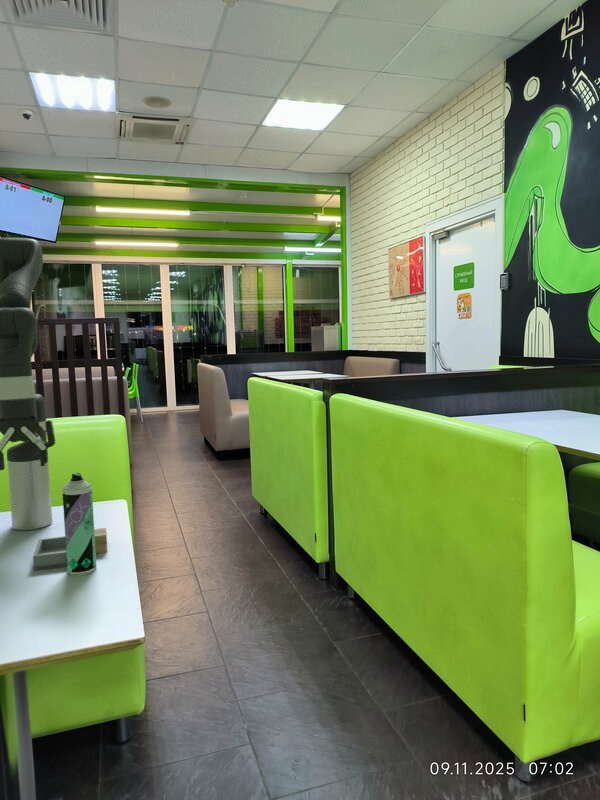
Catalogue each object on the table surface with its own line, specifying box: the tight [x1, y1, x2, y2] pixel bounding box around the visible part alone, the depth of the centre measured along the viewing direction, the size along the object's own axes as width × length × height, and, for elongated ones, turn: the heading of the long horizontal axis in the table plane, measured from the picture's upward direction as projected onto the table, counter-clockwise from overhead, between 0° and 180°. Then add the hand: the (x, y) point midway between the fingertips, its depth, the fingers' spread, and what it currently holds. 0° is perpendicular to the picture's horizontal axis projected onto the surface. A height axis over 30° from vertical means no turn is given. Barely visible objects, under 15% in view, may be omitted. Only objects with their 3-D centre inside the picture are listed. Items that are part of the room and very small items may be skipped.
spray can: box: [61, 472, 97, 577], centre depth 111 cm, size 6×6×20 cm
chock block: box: [94, 527, 108, 554], centre depth 124 cm, size 5×3×4 cm, turn 19°
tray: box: [32, 535, 67, 572], centre depth 119 cm, size 10×10×3 cm
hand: (22, 467), depth 126 cm, fingers open, 8 cm apart
